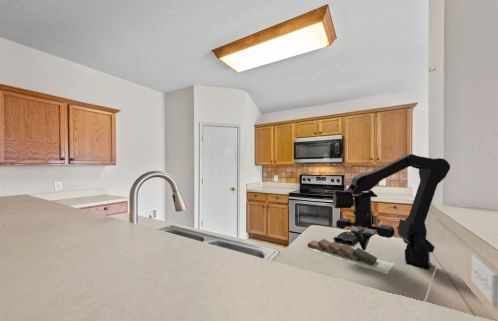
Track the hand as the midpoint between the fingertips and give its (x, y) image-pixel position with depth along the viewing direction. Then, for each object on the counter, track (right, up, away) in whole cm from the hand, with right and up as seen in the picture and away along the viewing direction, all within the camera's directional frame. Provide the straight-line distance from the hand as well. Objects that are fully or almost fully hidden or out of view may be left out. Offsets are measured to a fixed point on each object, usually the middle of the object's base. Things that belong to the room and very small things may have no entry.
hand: (364, 249), depth 79 cm
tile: (+2, -3, -3) cm, 5 cm away
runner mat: (-4, -5, +4) cm, 7 cm away
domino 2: (-7, -4, +8) cm, 11 cm away
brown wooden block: (-1, -4, +1) cm, 4 cm away
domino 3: (-4, -4, +4) cm, 7 cm away
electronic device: (+5, -6, +22) cm, 24 cm away
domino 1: (-11, -4, +11) cm, 16 cm away
